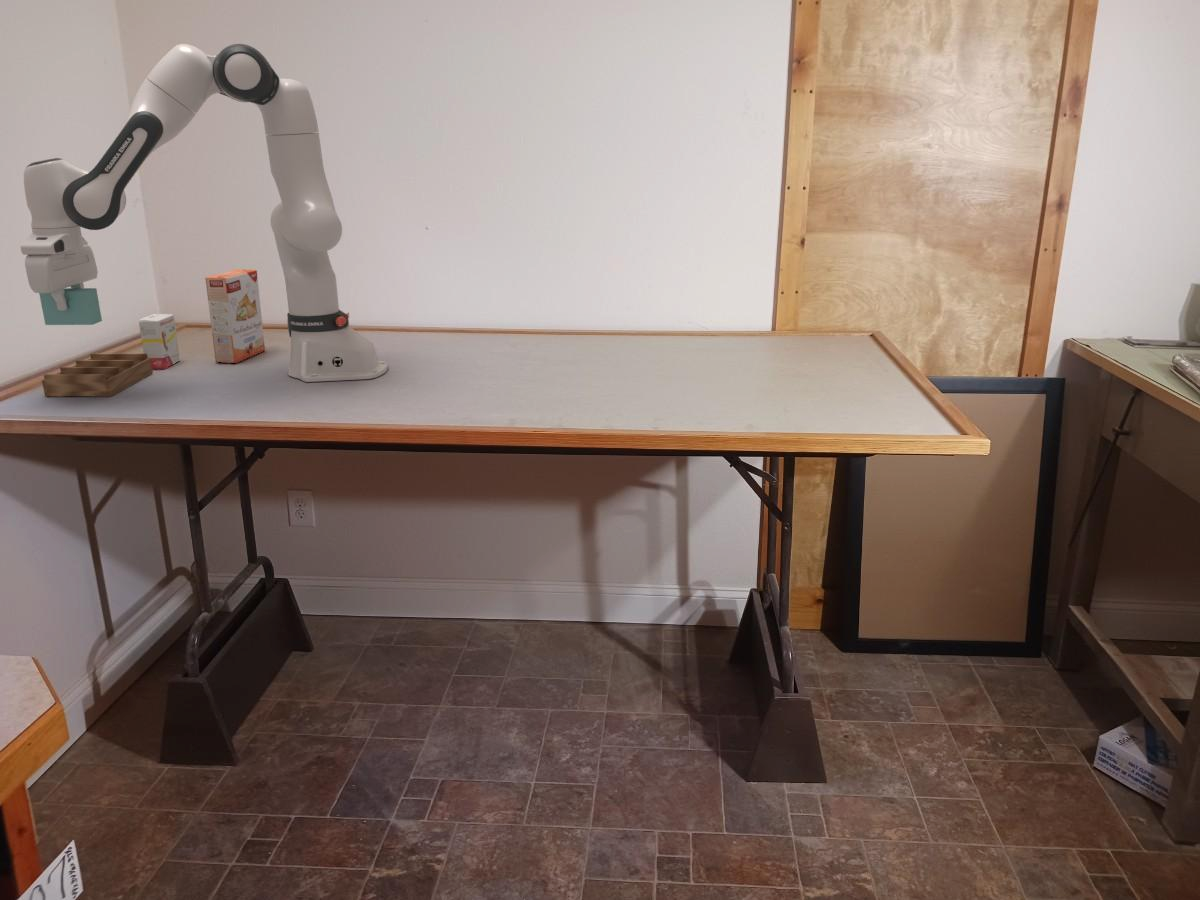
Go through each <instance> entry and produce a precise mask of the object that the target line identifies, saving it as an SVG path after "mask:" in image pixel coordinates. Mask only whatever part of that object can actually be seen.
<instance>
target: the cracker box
mask: <svg viewBox="0 0 1200 900" xmlns="http://www.w3.org/2000/svg"><path fill="white" fill-rule="evenodd" d="M204 279H205V285H206V293H207V295H206V296H207V301H208V302H207V303H208V311H209V318H210V326H211V337H212V342H213V351H214V358H215V363H217V362H221V364H231V363H235V364H238V363H240V361H241V362H243V361H245V360H248V359H250V358H253V357H255V356H257V355H259V354H258V353H260V354H262V353H264V352H263V351H265V352H266V350H265V349H266V348H265V346H266V345H265V337H264V329H263V328H264V327H263V319H262V318H263V317H262V310H261V301H260V300H261V299H260V289H259V281H258V270H256V269H245V268H244V269H243V268H242V269H241V268H238V269H234V270H230V271H226V272H221V273H217V274H214V275H209V276H205V278H204ZM261 352H262V353H261ZM256 354H257V355H256ZM254 355H255V356H254ZM252 356H253V357H252ZM249 357H250V358H249ZM247 358H248V359H247ZM244 359H245V360H244Z"/></svg>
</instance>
